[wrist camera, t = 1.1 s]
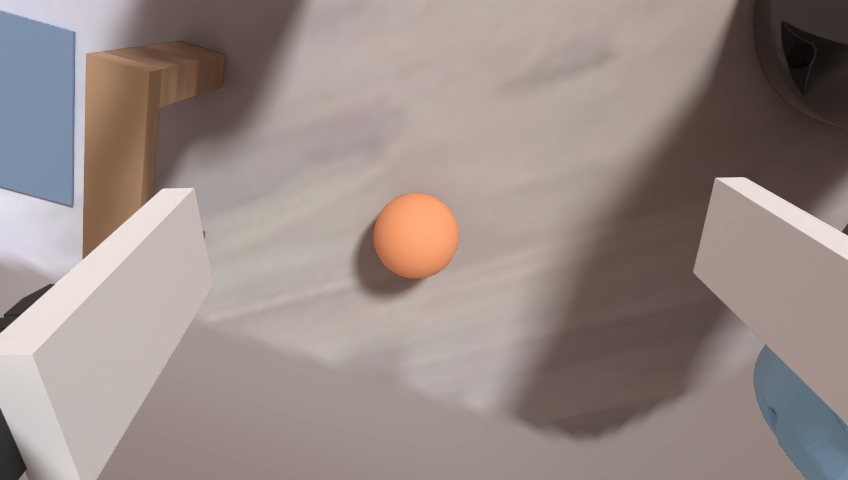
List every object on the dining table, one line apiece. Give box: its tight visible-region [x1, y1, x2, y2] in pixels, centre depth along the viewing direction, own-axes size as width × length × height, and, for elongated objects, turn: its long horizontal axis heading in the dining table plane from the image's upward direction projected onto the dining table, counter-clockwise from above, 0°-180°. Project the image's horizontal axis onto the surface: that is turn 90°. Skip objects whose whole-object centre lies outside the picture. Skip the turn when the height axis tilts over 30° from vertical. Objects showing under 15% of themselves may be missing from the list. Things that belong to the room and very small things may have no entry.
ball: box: [373, 193, 459, 279], centre depth 35 cm, size 6×6×6 cm
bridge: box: [83, 41, 226, 259], centre depth 33 cm, size 3×14×9 cm, turn 165°
